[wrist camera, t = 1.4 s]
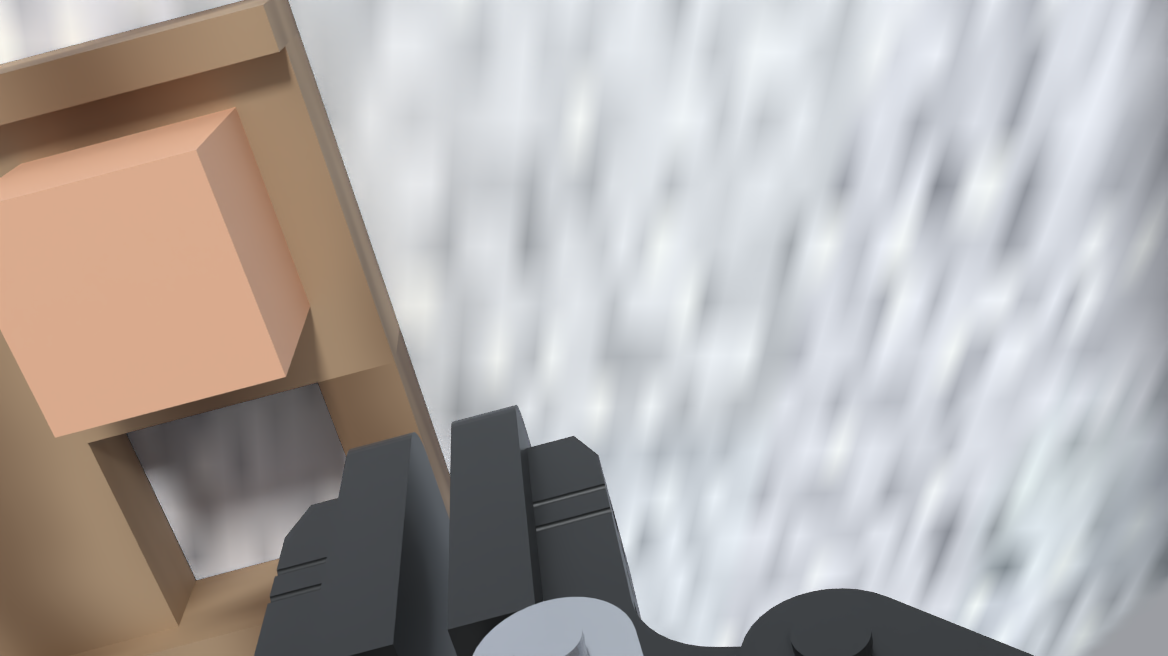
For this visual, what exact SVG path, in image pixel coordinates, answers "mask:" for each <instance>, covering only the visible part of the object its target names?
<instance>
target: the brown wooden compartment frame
mask: <svg viewBox="0 0 1168 656" xmlns="http://www.w3.org/2000/svg"><path fill="white" fill-rule="evenodd" d="M234 107H236V109H237V112H238V114H239V117H240V120H241V122H242V125H243V128H244V130H245V133H246V136H247V138H248V141H249V144H250V146H251V149H252V152H253V154H254V157H255V160H256V162H257V165H258V168H259V170H260V173H261V176H262V178H263V181H264V184H265V186H266V189H267V192H268V194H269V197H270V200H271V202H272V205H273V208H274V210H275V213H276V216H277V218H278V221H279V224H280V226H281V229H282V232H283V234H284V237H285V240H286V242H287V245H288V248H289V250H290V253H291V256H292V259H293V261H294V264H295V267H296V269H297V272H298V275H299V277H300V280H301V283H302V285H303V288H304V291H305V293H306V296H307V299H308V301H309V304H310V308H309V311H308V314H307V317H306V320H305V323H304V326H303V329H302V332H301V335H300V337H299V340H298V343H297V346H296V349H295V352H294V355H293V358H292V361H291V364H290V367H289V369H288V372H287V375H286V377H284V378H280V379H276V380H272V381H268V382H265V383H261V384H257V385H253V386H250V387H246V388H242V389H238V390H234V391H231V392H227V393H223V394H219V395H215V396H212V397H208V398H204V399H200V400H196V401H193V402H189V403H185V404H181V405H177V406H174V407H170V408H166V409H162V410H159V411H155V412H151V413H147V414H143V415H140V416H136V417H132V418H128V419H124V420H121V421H117V422H113V423H109V424H105V425H102V426H98V427H94V428H90V429H86V430H83V431H79V432H75V433H71V434H68V435H64V436H60V437H56V438H55V437H54V435H53V433H52V431H51V429H50V427H49V425H48V423H47V421H46V419H45V417H44V415H43V413H42V411H41V409H40V407H39V405H38V403H37V401H36V399H35V397H34V395H33V393H32V391H31V389H30V387H29V385H28V383H27V381H26V379H25V377H24V375H23V373H22V371H21V370H20V368H19V366H18V364H17V362H16V360H15V358H14V356H13V354H12V352H11V350H10V348H9V346H8V344H7V342H6V340H5V338H4V336H3V334H2V332H1V330H0V656H254V654H255V650H256V646H257V642H258V638H259V635H260V631H261V627H262V623H263V619H264V616H265V612H266V608H267V604H268V603H271V601H270V593H271V589H272V585H273V581H274V578H275V576H278V574H277V566H278V562H279V559H276V560H272V561H269V562H265V563H261V564H257V565H253V566H250V567H246V568H242V569H238V570H234V571H231V572H227V573H223V574H219V575H215V576H212V577H208V578H204V579H200V580H195V578H194V576H193V573H192V571H191V569H190V567H189V565H188V563H187V561H186V559H185V557H184V555H183V552H182V550H181V548H180V546H179V544H178V542H177V540H176V538H175V536H174V533H173V531H172V529H171V527H170V525H169V523H168V521H167V519H166V517H165V515H164V512H163V510H162V508H161V506H160V504H159V502H158V500H157V498H156V496H155V494H154V491H153V489H152V487H151V485H150V483H149V481H148V479H147V477H146V475H145V473H144V470H143V468H142V466H141V464H140V462H139V460H138V458H137V456H136V454H135V451H134V449H133V447H132V445H131V443H130V441H129V439H128V437H127V435H126V433H128V432H132V431H136V430H140V429H143V428H147V427H151V426H155V425H159V424H162V423H166V422H170V421H174V420H177V419H181V418H185V417H189V416H193V415H196V414H200V413H204V412H208V411H212V410H215V409H219V408H223V407H227V406H231V405H234V404H238V403H242V402H246V401H250V400H253V399H257V398H261V397H265V396H268V395H272V394H276V393H280V392H284V391H287V390H291V389H295V388H299V387H303V386H306V385H310V384H314V383H318V385H319V387H320V390H321V392H322V395H323V398H324V400H325V403H326V405H327V408H328V411H329V413H330V416H331V418H332V421H333V424H334V426H335V429H336V431H337V434H338V437H339V439H340V442H341V444H342V447H343V450H344V452H345V455H346V456H347V453H348V451H349V449H352V448H356V447H360V446H363V445H367V444H371V443H375V442H379V441H382V440H386V439H390V438H394V437H398V436H401V435H405V434H409V433H413V432H415V433H417V435H418V436H419V437H420V439H421V441H422V443H423V446H424V448H425V451H426V453H427V456H428V459H429V462H430V465H431V468H432V470H433V473H434V476H435V479H436V482H437V485H438V488H439V491H440V493H441V496H442V499H443V502H444V505H445V508H446V511H447V514H448V516H449V519H450V474H449V471H448V468H447V465H446V463H445V460H444V457H443V454H442V451H441V448H440V445H439V442H438V439H437V436H436V433H435V430H434V427H433V424H432V421H431V419H430V416H429V413H428V410H427V407H426V404H425V401H424V398H423V395H422V392H421V389H420V386H419V383H418V380H417V377H416V375H415V372H414V369H413V366H412V363H411V360H410V357H409V354H408V351H407V348H406V345H405V342H404V339H403V336H402V333H401V331H400V328H399V325H398V322H397V319H396V316H395V313H394V310H393V307H392V304H391V301H390V298H389V295H388V292H387V289H386V287H385V284H384V281H383V278H382V275H381V272H380V269H379V266H378V263H377V260H376V257H375V254H374V251H373V248H372V245H371V242H370V240H369V237H368V234H367V231H366V228H365V225H364V222H363V219H362V216H361V213H360V210H359V207H358V204H357V201H356V198H355V196H354V193H353V190H352V187H351V184H350V181H349V178H348V175H347V172H346V169H345V166H344V163H343V160H342V157H341V154H340V152H339V149H338V146H337V143H336V140H335V137H334V134H333V131H332V128H331V125H330V122H329V119H328V116H327V113H326V110H325V108H324V105H323V102H322V99H321V96H320V93H319V90H318V87H317V84H316V81H315V78H314V75H313V72H312V69H311V66H310V64H309V61H308V58H307V55H306V52H305V49H304V46H303V43H302V40H301V37H300V34H299V31H298V28H297V25H296V22H295V20H294V17H293V14H292V11H291V8H290V5H289V2H288V0H243V1H240V2H236V3H232V4H228V5H224V6H221V7H217V8H213V9H209V10H206V11H202V12H198V13H194V14H190V15H187V16H183V17H179V18H175V19H171V20H168V21H164V22H160V23H156V24H153V25H149V26H145V27H141V28H137V29H134V30H130V31H126V32H122V33H118V34H115V35H111V36H107V37H103V38H99V39H96V40H92V41H88V42H84V43H81V44H77V45H73V46H69V47H65V48H62V49H58V50H54V51H50V52H46V53H43V54H39V55H35V56H31V57H28V58H24V59H20V60H16V61H12V62H9V63H5V64H1V65H0V177H2V176H3V175H5V174H6V173H8V172H9V171H11V170H12V169H14V168H15V167H17V166H18V165H20V164H22V163H26V162H30V161H33V160H37V159H41V158H45V157H49V156H52V155H56V154H60V153H64V152H67V151H71V150H75V149H79V148H83V147H86V146H90V145H94V144H98V143H102V142H105V141H109V140H113V139H117V138H121V137H124V136H128V135H132V134H136V133H139V132H143V131H147V130H151V129H155V128H158V127H162V126H166V125H170V124H174V123H177V122H181V121H185V120H189V119H193V118H196V117H200V116H204V115H208V114H211V113H215V112H219V111H223V110H227V109H230V108H234Z"/></svg>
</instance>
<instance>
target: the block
mask: <svg viewBox="0 0 1168 656" xmlns="http://www.w3.org/2000/svg"><path fill="white" fill-rule="evenodd" d="M309 308H310V304H309V301H308V299H307V296H306V293H305V291H304V288H303V285H302V283H301V280H300V277H299V275H298V272H297V269H296V267H295V264H294V261H293V259H292V256H291V253H290V250H289V248H288V245H287V242H286V240H285V237H284V234H283V232H282V229H281V226H280V224H279V221H278V218H277V216H276V213H275V210H274V208H273V205H272V202H271V200H270V197H269V194H268V192H267V189H266V186H265V184H264V181H263V178H262V176H261V173H260V170H259V168H258V165H257V162H256V160H255V157H254V154H253V152H252V149H251V146H250V144H249V141H248V138H247V136H246V133H245V130H244V128H243V125H242V122H241V120H240V117H239V114H238V112H237V109H236V107H234V108H230V109H227V110H223V111H219V112H215V113H211V114H208V115H204V116H200V117H196V118H193V119H189V120H185V121H181V122H177V123H174V124H170V125H166V126H162V127H158V128H155V129H151V130H147V131H143V132H139V133H136V134H132V135H128V136H124V137H121V138H117V139H113V140H109V141H105V142H102V143H98V144H94V145H90V146H86V147H83V148H79V149H75V150H71V151H67V152H64V153H60V154H56V155H52V156H49V157H45V158H41V159H37V160H33V161H30V162H26V163H22V164H20V165H18V166H17V167H15V168H14V169H12V170H11V171H9V172H8V173H6V174H5V175H3V176H2V177H0V330H1V332H2V334H3V336H4V338H5V340H6V342H7V344H8V346H9V348H10V350H11V352H12V354H13V356H14V358H15V360H16V362H17V364H18V366H19V368H20V370H21V371H22V373H23V375H24V377H25V379H26V381H27V383H28V385H29V387H30V389H31V391H32V393H33V395H34V397H35V399H36V401H37V403H38V405H39V407H40V409H41V411H42V413H43V415H44V417H45V419H46V421H47V423H48V425H49V427H50V429H51V431H52V433H53V435H54V437H55V438H56V437H60V436H64V435H68V434H71V433H75V432H79V431H83V430H86V429H90V428H94V427H98V426H102V425H105V424H109V423H113V422H117V421H121V420H124V419H128V418H132V417H136V416H140V415H143V414H147V413H151V412H155V411H159V410H162V409H166V408H170V407H174V406H177V405H181V404H185V403H189V402H193V401H196V400H200V399H204V398H208V397H212V396H215V395H219V394H223V393H227V392H231V391H234V390H238V389H242V388H246V387H250V386H253V385H257V384H261V383H265V382H268V381H272V380H276V379H280V378H284V377H286V375H287V372H288V369H289V367H290V364H291V361H292V358H293V355H294V352H295V349H296V346H297V343H298V340H299V337H300V335H301V332H302V329H303V326H304V323H305V320H306V317H307V314H308V311H309Z"/></svg>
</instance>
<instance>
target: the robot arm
mask: <svg viewBox="0 0 1168 656" xmlns="http://www.w3.org/2000/svg"><path fill="white" fill-rule="evenodd" d="M277 574H278V576H275V578H274V581H273V585H272V589H271V593H270V601H271V603H268V604H267V608H266V612H265V616H264V619H263V623H262V627H261V631H260V635H259V638H258V642H257V646H256V650H255V654H254V656H1034V655H1031V654H1029V653H1026V652H1024V651H1021V650H1019V649H1016V648H1014V647H1011V646H1009V645H1006V644H1004V643H1001V642H999V641H996V640H994V639H991V638H989V637H986V636H984V635H981V634H979V633H976V632H974V631H971V630H969V629H966V628H964V627H961V626H959V625H956V624H954V623H951V622H949V621H946V620H944V619H941V618H939V617H936V616H934V615H931V614H929V613H926V612H924V611H921V610H919V609H916V608H914V607H911V606H909V605H906V604H904V603H901V602H899V601H897V600H894V599H892V598H889V597H886V596H883V595H880V594H877V593H874V592H869V591H864V590H858V589H843V588H842V589H825V590H819V591H813V592H809V593H805V594H802V595H798V596H795V597H793V598H791V599H788V600H786V601H783V602H782V603H780V604H778V605H776V606H775V607H773V608H771V609H770V610H769V611H767V612H766V613H765V614H763V615H762V616H761V617H760V618H759V619H758V620H757V621H756V622H755V623H754V624H753V625H752V626H751V628H750V630H749V631H748V633H747V634H746V636H745V638H744V641H743V643H742V646H741V647H702V646H695V645H688V644H684V643H680V642H677V641H673V640H670V639H668V638H666V637H664V636H662V635H660V634H658V633H656V632H655V631H653V630H652V629H651V628H649V627H648V626H647V625H646V624H645V623H644V622H643V621H642V620H641V617H640V612H639V608H638V604H637V600H636V595H635V591H634V587H633V583H632V578H631V574H630V570H629V566H628V563H627V559H626V555H625V552H624V548H623V544H622V541H621V537H620V533H619V530H618V526H617V522H616V519H615V515H614V511H613V508H612V504H611V500H610V497H609V493H608V489H607V485H606V482H605V478H604V474H603V471H602V467H601V463H600V460H599V456H598V455H597V454H596V453H595V452H594V451H592V450H591V449H590V448H588V447H587V446H586V445H585V444H583V443H582V442H581V441H580V440H578V439H577V438H576V437H574V436H572V437H568V438H564V439H560V440H556V441H553V442H549V443H545V444H541V445H538V446H534V447H531V444H530V441H529V438H528V434H527V431H526V428H525V424H524V421H523V418H522V415H521V413H520V410H519V408H518V406H517V405H515V406H511V407H507V408H503V409H499V410H496V411H492V412H488V413H484V414H480V415H477V416H473V417H469V418H465V419H462V420H458V421H454V422H452V425H451V469H450V519H449V516H448V514H447V511H446V508H445V505H444V502H443V499H442V496H441V493H440V491H439V488H438V485H437V482H436V479H435V476H434V473H433V470H432V468H431V465H430V462H429V459H428V456H427V453H426V451H425V448H424V446H423V443H422V441H421V439H420V437H419V436H418V435H417V433H415V432H413V433H409V434H405V435H401V436H398V437H394V438H390V439H386V440H382V441H379V442H375V443H371V444H367V445H363V446H360V447H356V448H352V449H349V451H348V453H347V456H346V461H345V467H344V472H343V477H342V482H341V487H340V492H339V497H338V498H337V499H333V500H329V501H326V502H322V503H318V504H314V505H311V506H310V507H309V509H308V510H307V511H306V512H305V514H304V515H303V516H302V517H301V519H300V520H299V521H298V522H297V524H296V525H295V526H294V527H293V528H292V530H291V531H290V532H289V533H288V535H287V536H286V537H285V540H284V543H283V547H282V551H281V555H280V559H279V562H278V566H277Z"/></svg>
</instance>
